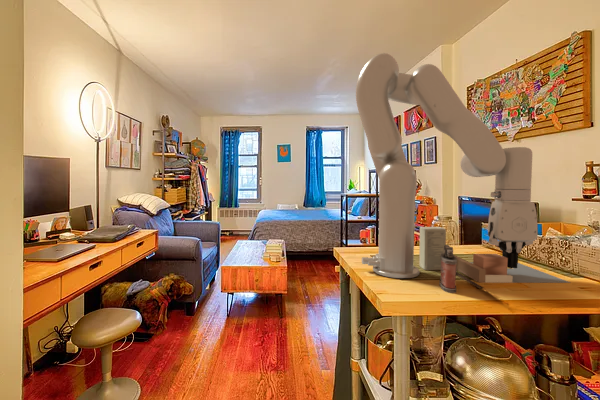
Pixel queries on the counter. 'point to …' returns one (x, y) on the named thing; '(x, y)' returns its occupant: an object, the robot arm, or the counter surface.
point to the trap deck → (513, 275)
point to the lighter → (448, 270)
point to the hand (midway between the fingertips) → (509, 266)
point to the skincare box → (431, 247)
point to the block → (491, 263)
